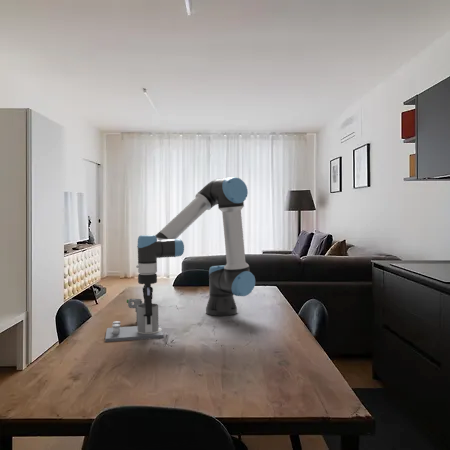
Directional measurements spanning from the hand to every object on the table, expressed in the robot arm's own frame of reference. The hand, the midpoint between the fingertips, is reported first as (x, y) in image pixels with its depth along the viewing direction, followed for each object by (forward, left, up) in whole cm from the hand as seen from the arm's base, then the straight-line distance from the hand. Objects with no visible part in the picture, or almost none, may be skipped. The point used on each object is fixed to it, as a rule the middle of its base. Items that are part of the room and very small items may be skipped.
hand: (148, 329), depth 178 cm
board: (+6, 0, -2) cm, 6 cm away
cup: (0, 0, -1) cm, 1 cm away
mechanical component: (+4, -21, -2) cm, 21 cm away
